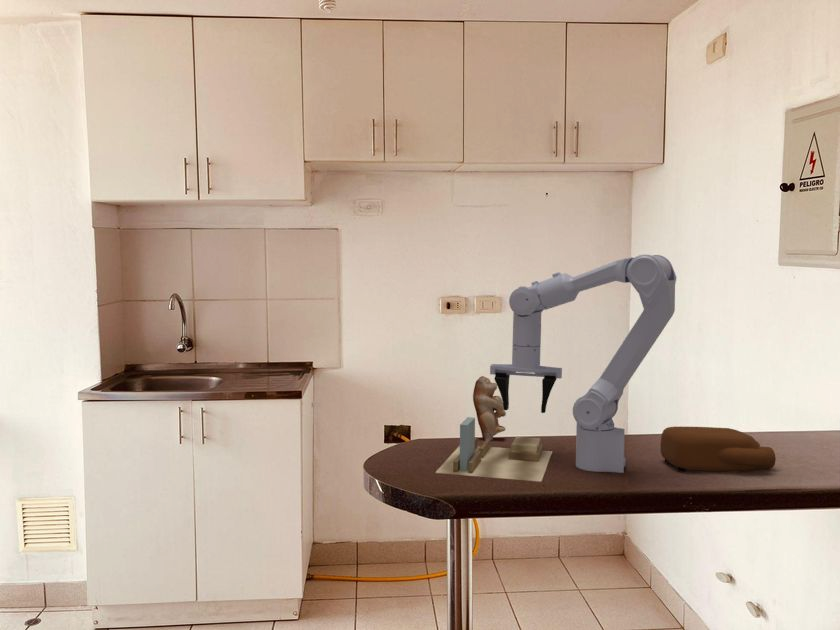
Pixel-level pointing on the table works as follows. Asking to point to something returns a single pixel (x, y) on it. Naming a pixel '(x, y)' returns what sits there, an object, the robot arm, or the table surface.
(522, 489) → the table surface
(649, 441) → the table surface
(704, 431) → the toy
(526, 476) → the rack
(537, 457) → the plate
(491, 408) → the figurine
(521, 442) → the offcut top
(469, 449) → the grey blue slab
